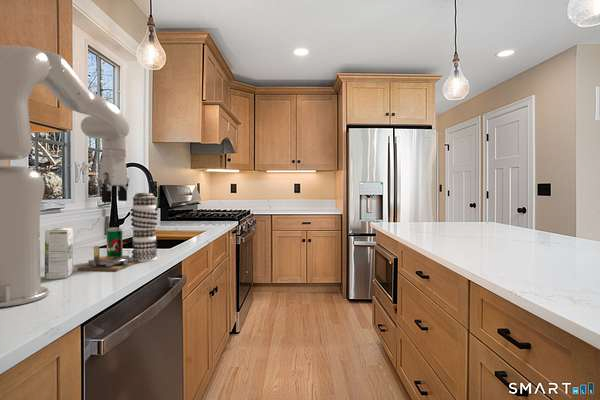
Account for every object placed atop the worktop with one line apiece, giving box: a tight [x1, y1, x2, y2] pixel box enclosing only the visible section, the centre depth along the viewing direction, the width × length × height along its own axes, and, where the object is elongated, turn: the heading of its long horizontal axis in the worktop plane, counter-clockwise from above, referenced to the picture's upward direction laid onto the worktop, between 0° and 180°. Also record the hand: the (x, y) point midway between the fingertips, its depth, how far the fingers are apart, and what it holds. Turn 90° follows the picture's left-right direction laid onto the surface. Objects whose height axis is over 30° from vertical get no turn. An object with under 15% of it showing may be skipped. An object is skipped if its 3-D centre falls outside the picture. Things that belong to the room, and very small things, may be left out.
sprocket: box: [87, 245, 133, 267], centre depth 114 cm, size 13×13×6 cm
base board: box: [76, 260, 139, 272], centre depth 113 cm, size 13×13×1 cm
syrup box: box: [44, 227, 74, 281], centre depth 99 cm, size 6×6×14 cm
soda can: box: [106, 226, 123, 256], centre depth 122 cm, size 5×5×12 cm
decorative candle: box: [130, 192, 159, 263], centre depth 124 cm, size 9×9×25 cm
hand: (114, 201), depth 122 cm, fingers open, 9 cm apart
